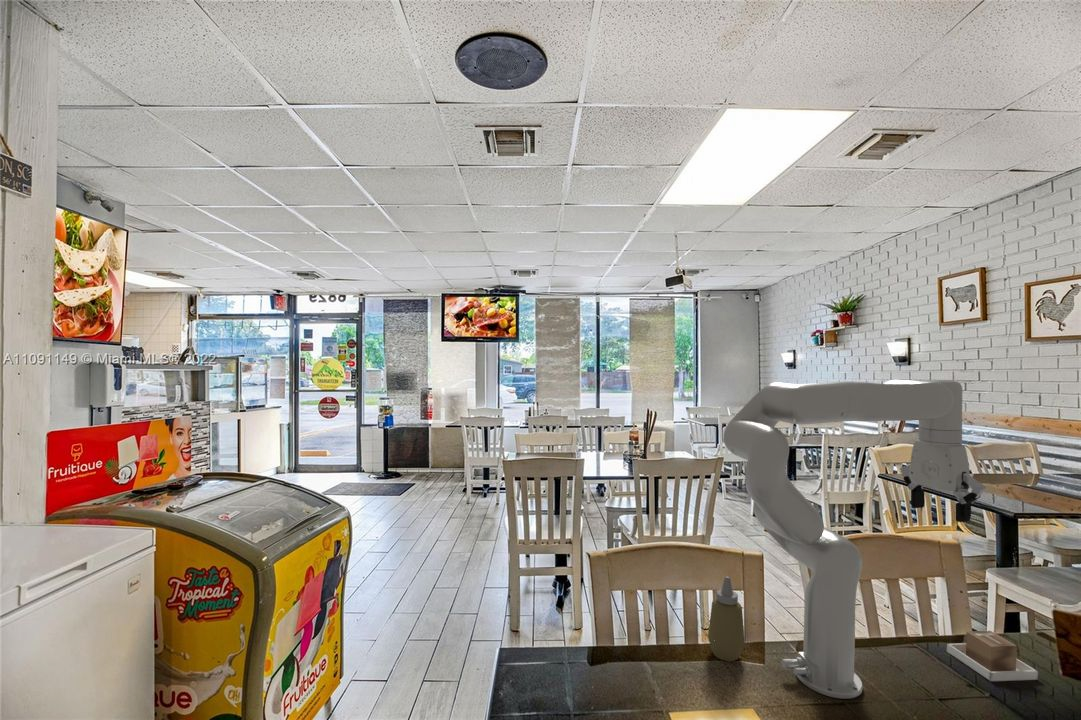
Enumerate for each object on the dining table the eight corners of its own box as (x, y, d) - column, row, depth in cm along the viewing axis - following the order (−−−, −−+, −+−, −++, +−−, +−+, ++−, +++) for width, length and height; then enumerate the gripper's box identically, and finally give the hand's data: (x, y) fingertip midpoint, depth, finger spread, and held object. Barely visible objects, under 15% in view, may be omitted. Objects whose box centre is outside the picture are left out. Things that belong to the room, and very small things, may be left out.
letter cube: (990, 673, 111) (991, 646, 111) (965, 657, 117) (966, 631, 117) (1015, 672, 112) (1016, 645, 112) (989, 656, 118) (990, 630, 118)
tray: (990, 683, 109) (991, 672, 109) (946, 653, 120) (947, 643, 120) (1037, 681, 110) (1037, 671, 110) (989, 651, 120) (989, 642, 120)
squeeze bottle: (738, 670, 112) (740, 589, 112) (702, 656, 117) (703, 578, 117) (748, 653, 119) (750, 576, 118) (714, 640, 123) (715, 567, 123)
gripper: (889, 431, 119) (889, 504, 119) (969, 444, 102) (969, 529, 102) (914, 429, 121) (914, 501, 121) (997, 442, 104) (996, 525, 104)
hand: (939, 514), depth 112 cm, fingers open, 9 cm apart
